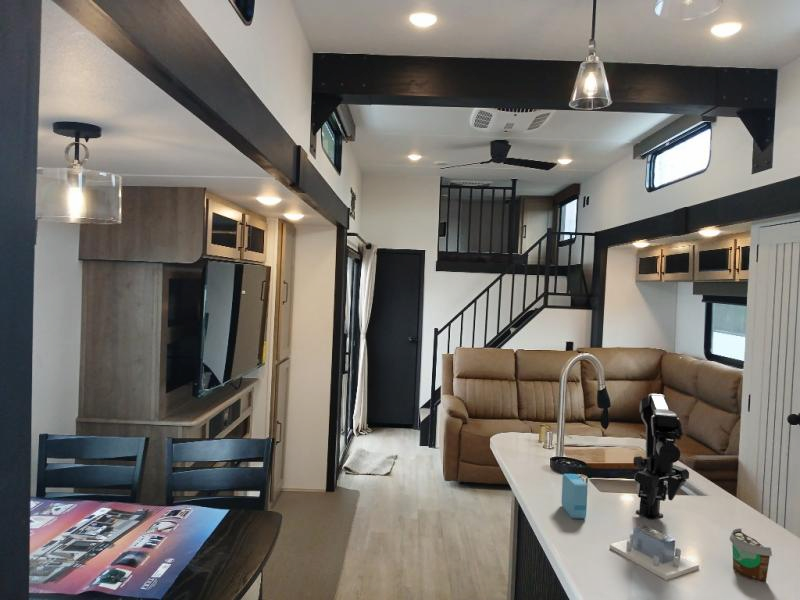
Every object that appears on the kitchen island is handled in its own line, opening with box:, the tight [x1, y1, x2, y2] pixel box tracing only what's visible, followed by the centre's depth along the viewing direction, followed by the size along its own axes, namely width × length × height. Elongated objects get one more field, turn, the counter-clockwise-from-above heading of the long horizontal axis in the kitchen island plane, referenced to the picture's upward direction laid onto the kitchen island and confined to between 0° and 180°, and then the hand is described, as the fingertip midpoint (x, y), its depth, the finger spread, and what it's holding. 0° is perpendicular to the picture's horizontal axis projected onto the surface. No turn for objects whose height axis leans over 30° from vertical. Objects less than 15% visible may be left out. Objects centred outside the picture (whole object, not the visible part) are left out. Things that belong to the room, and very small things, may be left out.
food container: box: [729, 528, 773, 583], centre depth 152 cm, size 12×6×10 cm, turn 5°
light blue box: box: [561, 473, 588, 520], centre depth 188 cm, size 12×4×12 cm, turn 2°
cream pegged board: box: [609, 533, 700, 581], centre depth 158 cm, size 14×19×4 cm
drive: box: [632, 525, 676, 564], centre depth 158 cm, size 5×10×6 cm, turn 28°
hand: (660, 502), depth 170 cm, fingers open, 9 cm apart
